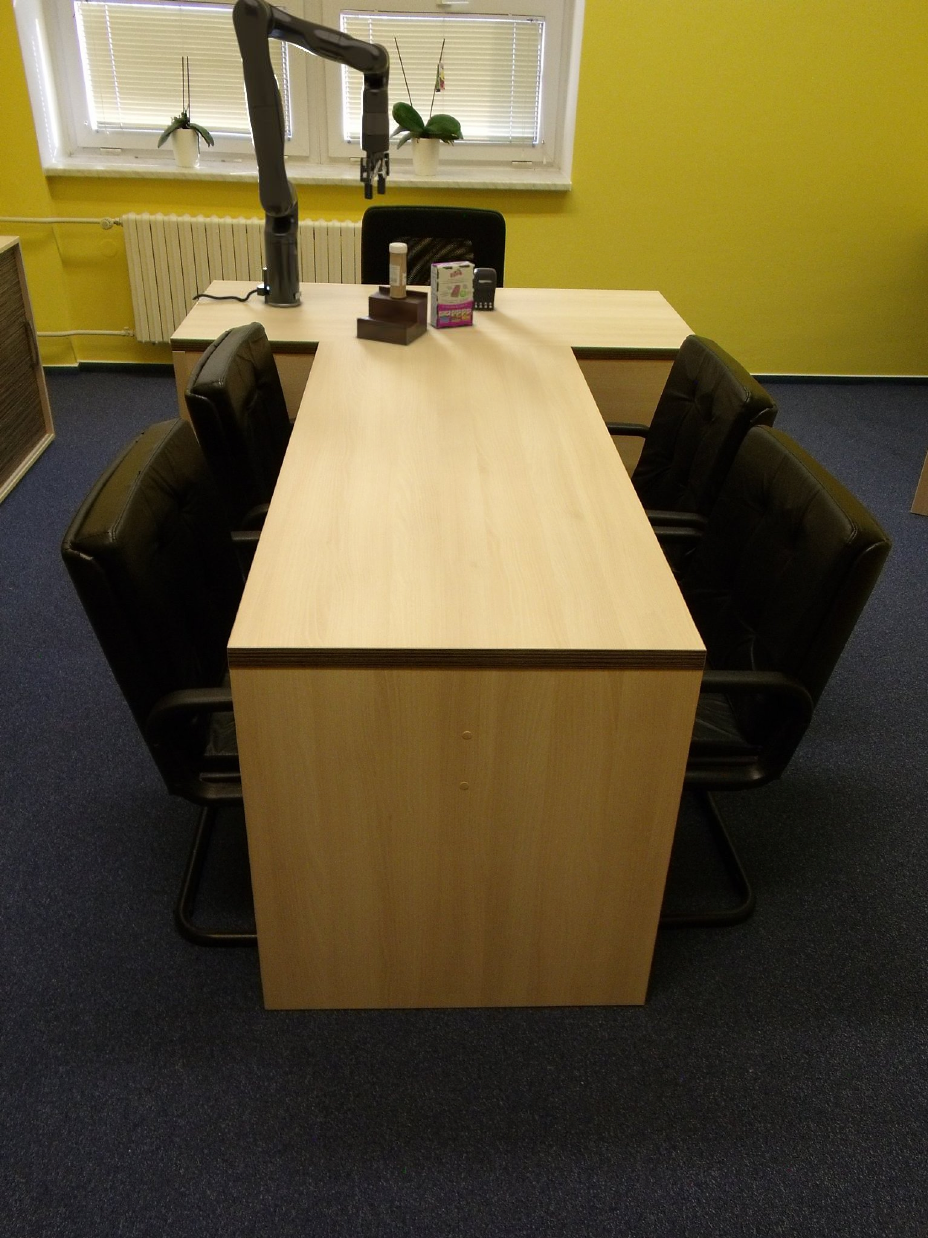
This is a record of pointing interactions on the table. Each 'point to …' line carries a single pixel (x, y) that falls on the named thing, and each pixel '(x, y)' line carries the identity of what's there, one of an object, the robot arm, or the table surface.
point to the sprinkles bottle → (398, 270)
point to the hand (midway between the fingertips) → (375, 196)
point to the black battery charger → (484, 289)
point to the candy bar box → (452, 294)
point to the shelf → (394, 317)
